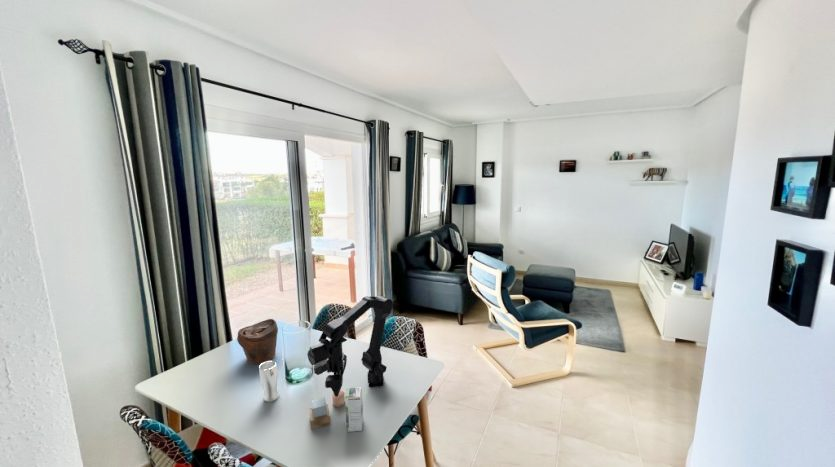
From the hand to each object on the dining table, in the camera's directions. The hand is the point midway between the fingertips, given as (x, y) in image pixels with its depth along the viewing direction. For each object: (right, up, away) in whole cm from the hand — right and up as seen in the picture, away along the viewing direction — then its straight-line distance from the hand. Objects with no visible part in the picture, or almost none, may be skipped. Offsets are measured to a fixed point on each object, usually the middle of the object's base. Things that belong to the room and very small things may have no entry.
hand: (338, 388), depth 143 cm
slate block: (-5, -5, -9) cm, 11 cm away
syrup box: (+9, -9, -11) cm, 17 cm away
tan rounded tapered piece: (0, -7, +1) cm, 7 cm away
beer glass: (-29, -6, +6) cm, 31 cm away
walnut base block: (-5, -9, -8) cm, 13 cm away
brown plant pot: (-47, 0, +36) cm, 59 cm away
